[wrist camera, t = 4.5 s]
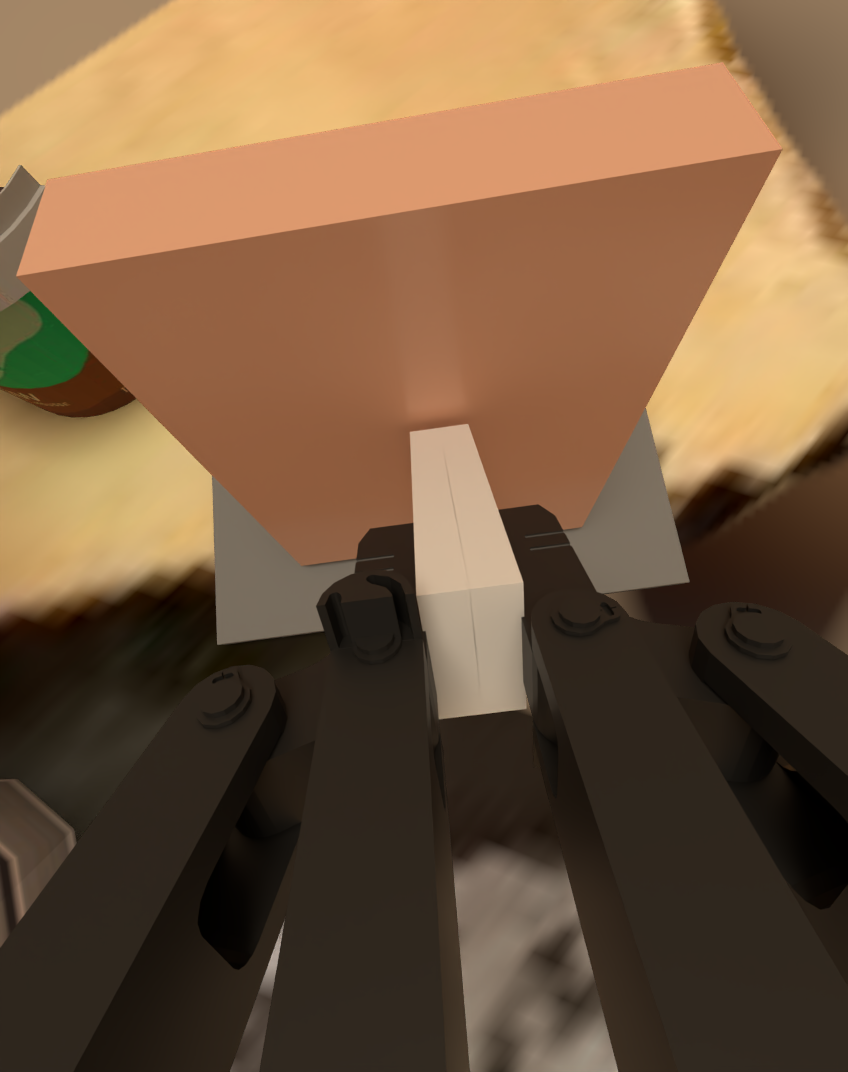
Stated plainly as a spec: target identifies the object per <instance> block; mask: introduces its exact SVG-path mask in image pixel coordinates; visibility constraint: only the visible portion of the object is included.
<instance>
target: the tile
mask: <svg viewBox="0 0 848 1072" xmlns="http://www.w3.org/2000/svg"><path fill="white" fill-rule="evenodd" d="M781 151H782V147H781V146H780V144H779V143H778V142H777V140H776V139H775V137H774V136H773V134H772V133H771V131H770V130H769V129H768V127H767V126H766V124H765V123H764V121H763V120H762V119H761V117H760V116H759V114H758V113H757V111H756V110H755V108H754V107H753V106H752V104H751V103H750V101H749V100H748V98H747V97H746V95H745V94H744V93H743V91H742V90H741V88H740V87H739V85H738V84H737V83H736V81H735V80H734V78H733V77H732V75H731V74H730V72H729V71H728V70H727V68H726V67H725V65H724V64H723V62H722V63H717V64H711V65H705V66H699V67H694V68H688V69H682V70H676V71H671V72H665V73H659V74H653V75H648V76H642V77H636V78H630V79H625V80H619V81H613V82H607V83H601V84H596V85H590V86H584V87H578V88H573V89H567V90H561V91H555V92H550V93H544V94H538V95H532V96H527V97H521V98H515V99H509V100H504V101H498V102H492V103H486V104H480V105H475V106H469V107H463V108H457V109H452V110H446V111H440V112H434V113H429V114H423V115H417V116H411V117H406V118H400V119H394V120H388V121H383V122H377V123H371V124H365V125H360V126H354V127H348V128H342V129H336V130H331V131H325V132H319V133H313V134H308V135H302V136H296V137H290V138H285V139H279V140H273V141H267V142H262V143H256V144H250V145H244V146H239V147H233V148H227V149H221V150H215V151H210V152H204V153H198V154H192V155H187V156H181V157H175V158H169V159H164V160H158V161H152V162H146V163H141V164H135V165H129V166H123V167H118V168H112V169H106V170H100V171H95V172H89V173H83V174H77V175H71V176H66V177H60V178H54V179H48V180H47V183H46V186H45V189H44V192H43V195H42V198H41V201H40V204H39V207H38V210H37V213H36V216H35V220H34V223H33V226H32V229H31V232H30V235H29V238H28V241H27V244H26V247H25V250H24V253H23V256H22V259H21V263H20V266H19V269H18V272H17V275H16V277H17V278H18V279H19V280H20V281H21V282H22V283H23V284H24V285H25V286H26V287H27V288H28V289H29V290H30V291H31V292H32V293H33V294H34V295H35V296H36V297H37V298H38V299H39V300H40V301H41V302H42V303H43V304H44V305H45V306H46V307H47V308H48V309H49V310H50V311H51V312H52V313H53V314H54V315H55V316H56V317H57V318H58V319H59V320H60V321H61V322H62V323H63V324H64V325H65V326H66V327H67V328H68V329H69V330H70V331H71V333H72V334H73V335H74V336H75V337H76V338H77V339H78V340H79V341H80V342H81V343H82V344H83V345H84V346H85V347H86V348H87V349H88V350H89V351H90V352H91V353H92V354H93V355H94V356H95V357H96V358H97V359H98V360H99V361H100V362H101V363H102V364H103V365H104V366H105V367H106V368H107V369H108V370H109V371H110V372H111V373H112V374H113V375H114V376H115V377H116V378H117V379H118V380H119V381H120V382H121V383H122V384H123V385H124V386H125V387H126V388H127V389H128V390H129V391H130V392H131V393H132V394H133V395H134V396H135V397H136V399H137V400H138V401H139V402H140V403H141V404H142V405H143V406H144V407H145V408H146V409H147V410H148V411H149V412H150V413H151V414H152V415H153V416H154V417H155V418H156V419H157V420H158V421H159V422H160V423H161V424H162V425H163V426H164V427H165V428H166V429H167V430H168V431H169V432H170V433H171V434H172V435H173V436H174V437H175V438H176V439H177V440H178V441H179V442H180V443H181V444H182V445H183V446H184V447H185V448H186V449H187V450H188V451H189V452H190V453H191V454H192V455H193V456H194V457H195V458H196V459H197V460H198V461H199V462H200V463H201V464H202V466H203V467H204V468H205V469H206V470H207V471H208V472H209V473H210V474H211V475H212V476H213V477H214V478H215V479H216V480H217V481H218V482H219V483H220V484H221V485H222V486H223V487H224V488H225V489H226V490H227V491H228V492H229V493H230V494H231V495H232V496H233V497H234V498H235V499H236V500H237V501H238V502H239V503H240V504H241V505H242V506H243V507H244V508H245V509H246V510H247V511H248V512H249V513H250V514H251V515H252V516H253V517H254V518H255V519H256V520H257V521H258V522H259V523H260V524H261V525H262V526H263V527H264V528H265V529H266V530H267V531H268V533H269V534H270V535H271V536H272V537H273V538H274V539H275V540H276V541H277V542H278V543H279V544H280V545H281V546H282V547H283V548H284V549H285V550H286V551H287V552H288V553H289V554H290V555H291V556H292V557H293V558H294V559H295V560H296V561H297V562H298V563H299V564H300V565H301V566H305V565H312V564H320V563H327V562H334V561H341V560H348V559H356V557H357V550H358V543H359V542H360V541H361V539H362V538H363V537H364V536H365V534H366V533H367V532H368V531H369V529H370V528H378V527H385V526H393V525H400V524H407V523H413V499H412V473H411V448H410V432H413V431H420V430H427V429H434V428H441V427H448V426H456V425H463V424H468V425H469V428H470V431H471V434H472V436H473V439H474V442H475V445H476V448H477V451H478V454H479V457H480V459H481V462H482V465H483V468H484V471H485V474H486V477H487V479H488V482H489V485H490V488H491V491H492V494H493V497H494V500H495V502H496V505H497V508H498V510H499V509H507V508H514V507H522V506H529V505H536V504H539V505H540V506H542V507H543V508H545V509H546V510H548V511H549V512H551V513H552V514H554V515H555V516H556V518H557V520H558V521H559V523H560V525H561V527H562V529H563V530H565V529H572V528H579V527H582V526H583V525H584V523H585V521H586V519H587V517H588V515H589V513H590V511H591V509H592V508H593V506H594V504H595V502H596V500H597V498H598V496H599V494H600V492H601V491H602V489H603V487H604V485H605V483H606V481H607V479H608V477H609V475H610V474H611V472H612V470H613V468H614V466H615V464H616V462H617V460H618V459H619V457H620V455H621V453H622V451H623V449H624V447H625V445H626V443H627V442H628V440H629V438H630V436H631V434H632V432H633V430H634V428H635V426H636V425H637V423H638V421H639V419H640V417H641V415H642V413H643V411H644V409H645V408H646V406H647V404H648V402H649V400H650V398H651V396H652V394H653V393H654V391H655V389H656V387H657V385H658V383H659V381H660V379H661V377H662V376H663V374H664V372H665V370H666V368H667V366H668V364H669V362H670V360H671V359H672V357H673V355H674V353H675V351H676V349H677V347H678V345H679V343H680V342H681V340H682V338H683V336H684V334H685V332H686V330H687V328H688V326H689V325H690V323H691V321H692V319H693V317H694V315H695V313H696V311H697V310H698V308H699V306H700V304H701V302H702V300H703V298H704V296H705V294H706V293H707V291H708V289H709V287H710V285H711V283H712V281H713V279H714V277H715V276H716V274H717V272H718V270H719V268H720V266H721V264H722V262H723V260H724V259H725V257H726V255H727V253H728V251H729V249H730V247H731V245H732V244H733V242H734V240H735V238H736V236H737V234H738V232H739V230H740V228H741V227H742V225H743V223H744V221H745V219H746V217H747V215H748V213H749V211H750V210H751V208H752V206H753V204H754V202H755V200H756V198H757V196H758V194H759V193H760V191H761V189H762V187H763V185H764V183H765V181H766V179H767V178H768V176H769V174H770V172H771V170H772V168H773V166H774V164H775V162H776V161H777V159H778V157H779V155H780V153H781Z"/></svg>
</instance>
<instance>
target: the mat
mask: <svg viewBox="0 0 848 1072" xmlns="http://www.w3.org/2000/svg"><path fill="white" fill-rule="evenodd" d="M212 486H213V518H214V551H215V584H216V616H217V645H223V644H233V643H241V642H248V641H256V640H263V639H271V638H278V637H286V636H293V635H301V634H309V633H316V632H324V629H323V626H322V623H321V620H320V617H319V614H318V611H317V608H316V605H317V603H318V601H319V599H320V597H321V595H322V593H323V592H325V591H326V590H327V589H328V588H329V587H330V586H331V585H332V584H333V583H335V582H336V581H338V580H340V579H342V578H344V577H346V576H348V575H350V574H354V571H355V564H356V562H357V561H356V559H348V560H341V561H334V562H327V563H320V564H312V565H305V566H301V565H300V564H299V563H298V562H297V561H296V560H295V559H294V558H293V557H292V556H291V555H290V554H289V553H288V552H287V551H286V550H285V549H284V548H283V547H282V546H281V545H280V544H279V543H278V542H277V541H276V540H275V539H274V538H273V537H272V536H271V535H270V534H269V533H268V531H267V530H266V529H265V528H264V527H263V526H262V525H261V524H260V523H259V522H258V521H257V520H256V519H255V518H254V517H253V516H252V515H251V514H250V513H249V512H248V511H247V510H246V509H245V508H244V507H243V506H242V505H241V504H240V503H239V502H238V501H237V500H236V499H235V498H234V497H233V496H232V495H231V494H230V493H229V492H228V491H227V490H226V489H225V488H224V487H223V486H222V485H221V484H220V483H219V482H218V481H217V480H216V479H215V478H214V477H213V476H212ZM563 533H565V534H566V536H567V538H568V540H569V542H570V546H572V547H573V549H574V551H575V553H576V554H577V556H578V558H579V560H580V562H581V564H582V565H583V567H584V569H585V571H586V573H587V575H588V576H589V578H590V580H591V582H592V584H593V586H594V587H595V589H596V591H597V592H599V593H602V594H609V593H617V592H624V591H631V590H640V589H647V588H655V587H662V586H670V585H677V584H683V583H686V582H689V578H688V575H687V570H686V567H685V562H684V558H683V554H682V550H681V546H680V542H679V538H678V534H677V531H676V527H675V523H674V519H673V515H672V511H671V507H670V503H669V499H668V495H667V491H666V487H665V483H664V479H663V475H662V471H661V467H660V463H659V459H658V455H657V451H656V447H655V443H654V439H653V435H652V431H651V427H650V423H649V419H648V415H647V411H646V408H645V409H644V411H643V413H642V415H641V417H640V419H639V421H638V423H637V425H636V426H635V428H634V430H633V432H632V434H631V436H630V438H629V440H628V442H627V443H626V445H625V447H624V449H623V451H622V453H621V455H620V457H619V459H618V460H617V462H616V464H615V466H614V468H613V470H612V472H611V474H610V475H609V477H608V479H607V481H606V483H605V485H604V487H603V489H602V491H601V492H600V494H599V496H598V498H597V500H596V502H595V504H594V506H593V508H592V509H591V511H590V513H589V515H588V517H587V519H586V521H585V523H584V525H583V526H582V527H579V528H572V529H565V530H563Z"/></svg>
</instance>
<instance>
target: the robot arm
mask: <svg viewBox="0 0 848 1072" xmlns="http://www.w3.org/2000/svg"><path fill="white" fill-rule="evenodd" d="M410 448H411V473H412V499H413V523H407V524H400V525H393V526H385V527H378V528H370V529H369V531H368V532H367V533H366V534H365V536H364V537H363V538H362V539H361V541H360V542H359V543H358V550H357V557H356V561H357V562H356V564H355V571H354V574H350V575H348V576H346V577H344V578H342V579H340V580H338V581H336V582H335V583H333V584H332V585H331V586H330V587H329V588H328V589H327V590H326V591H325V592H323V593H322V595H321V597H320V599H319V601H318V603H317V605H316V608H317V611H318V614H319V617H320V620H321V623H322V626H323V629H324V632H325V635H326V638H327V641H328V644H329V647H330V654H329V655H327V656H326V657H324V658H323V659H322V660H320V661H319V662H317V663H315V664H313V665H311V666H309V667H307V668H305V669H302V670H300V671H297V672H295V673H292V674H289V675H287V676H284V677H282V678H279V679H276V680H274V678H273V677H272V676H271V675H270V674H269V673H268V672H267V671H266V670H265V669H264V668H260V667H256V666H253V665H242V666H232V667H230V668H227V669H224V670H221V671H219V672H216V673H214V674H212V675H211V676H209V677H207V678H206V679H204V680H203V681H201V682H200V683H198V684H197V685H196V686H195V687H194V688H193V689H192V690H191V691H190V692H189V693H188V694H187V695H186V696H185V697H184V698H183V699H182V700H181V702H180V703H179V704H178V706H177V707H176V709H175V710H174V711H173V713H172V714H171V715H170V717H169V718H168V719H167V721H166V722H165V724H164V725H163V726H162V728H161V729H160V730H159V732H158V733H157V734H156V736H155V737H154V739H153V740H152V741H151V743H150V744H149V745H148V747H147V748H146V749H145V751H144V752H143V754H142V755H141V756H140V758H139V759H138V760H137V762H136V763H135V764H134V766H133V767H132V769H131V770H130V771H129V773H128V774H127V775H126V777H125V778H124V780H123V781H122V782H121V784H120V785H119V786H118V788H117V789H116V790H115V792H114V793H113V795H112V796H111V797H110V799H109V800H108V801H107V803H106V804H105V805H104V807H103V808H102V810H101V811H100V812H99V814H98V815H97V816H96V818H95V819H94V820H93V822H92V823H91V825H90V826H89V827H88V829H87V830H86V831H85V833H84V834H83V835H82V837H81V838H80V840H79V841H78V842H77V844H76V845H75V846H74V848H73V849H72V850H71V852H70V853H69V855H68V856H67V857H66V859H65V860H64V861H63V863H62V864H61V865H60V867H59V868H58V870H57V871H56V872H55V874H54V875H53V876H52V878H51V879H50V880H49V882H48V883H47V885H46V886H45V887H44V889H43V890H42V891H41V893H40V894H39V895H38V897H37V898H36V900H35V901H34V902H33V904H32V905H31V906H30V908H29V909H28V910H27V912H26V913H25V915H24V916H23V917H22V919H21V920H20V921H19V923H18V924H17V925H16V927H15V928H14V930H13V931H12V932H11V934H10V935H9V936H8V938H7V939H6V940H5V942H4V943H3V945H2V946H1V947H0V1072H230V1069H231V1066H232V1064H233V1061H234V1058H235V1055H236V1052H237V1050H238V1047H239V1044H240V1041H241V1039H242V1036H243V1033H244V1030H245V1027H246V1025H247V1022H248V1019H249V1016H250V1014H251V1011H252V1008H253V1005H254V1002H255V1000H256V997H257V994H258V991H259V989H260V986H261V983H262V980H263V977H264V975H265V972H266V969H267V966H268V964H269V961H270V958H271V955H272V952H273V950H274V947H275V944H276V941H277V939H278V936H279V933H280V930H281V927H282V925H283V922H284V919H285V923H284V929H283V935H282V941H281V947H280V953H279V959H278V965H277V970H276V976H275V982H274V988H273V994H272V1000H271V1006H270V1012H269V1018H268V1024H267V1030H266V1036H265V1042H264V1048H263V1053H262V1059H261V1065H260V1071H259V1072H470V1068H469V1056H468V1044H467V1031H466V1019H465V1007H464V995H463V983H462V971H461V959H460V947H459V935H458V923H457V911H456V899H455V887H454V875H453V862H452V850H451V838H450V826H449V814H448V802H447V790H446V778H445V766H444V754H443V746H442V741H441V736H440V729H439V719H445V718H453V717H462V716H470V715H479V714H487V713H496V712H504V711H513V710H521V709H527V705H526V694H527V698H528V702H529V705H530V709H531V713H532V716H533V762H534V767H540V768H541V771H542V775H543V779H544V783H545V787H546V791H547V795H548V799H549V803H550V806H551V810H552V814H553V818H554V822H555V826H556V830H557V834H558V838H559V842H560V845H561V849H562V853H563V857H564V861H565V865H566V869H567V873H568V877H569V881H570V884H571V888H572V892H573V896H574V900H575V904H576V908H577V912H578V916H579V919H580V923H581V927H582V931H583V935H584V939H585V943H586V947H587V951H588V955H589V958H590V962H591V966H592V970H593V974H594V978H595V982H596V986H597V990H598V993H599V997H600V1001H601V1005H602V1009H603V1013H604V1017H605V1021H606V1025H607V1029H608V1032H609V1036H610V1040H611V1044H612V1048H613V1052H614V1056H615V1060H616V1064H617V1068H618V1071H619V1072H848V655H847V654H845V653H844V652H842V651H841V650H839V649H838V648H836V647H835V646H833V645H832V644H831V643H829V642H828V641H826V640H825V639H823V638H822V637H820V636H819V635H818V634H816V633H815V632H813V631H812V630H810V629H809V628H807V627H806V626H805V625H803V624H802V623H800V622H799V621H797V620H795V619H793V618H791V617H789V616H787V615H785V614H784V613H782V612H780V611H778V610H774V609H771V608H767V607H764V606H761V605H757V604H751V603H740V602H729V603H723V604H716V605H713V606H712V607H710V608H708V609H706V610H704V611H703V612H701V614H700V616H699V618H698V620H697V622H696V624H695V627H684V626H676V625H667V624H657V623H651V622H645V621H640V620H637V619H634V618H631V617H629V615H628V614H627V612H626V611H625V610H624V609H623V608H622V607H621V606H620V605H619V604H618V602H617V601H615V600H613V599H611V598H609V597H607V596H606V595H604V594H602V593H599V592H597V591H596V589H595V587H594V586H593V584H592V582H591V580H590V578H589V576H588V575H587V573H586V571H585V569H584V567H583V565H582V564H581V562H580V560H579V558H578V556H577V554H576V553H575V551H574V549H573V547H572V546H570V542H569V540H568V538H567V536H566V534H565V533H563V529H562V527H561V525H560V523H559V521H558V520H557V518H556V516H555V515H554V514H552V513H551V512H549V511H548V510H546V509H545V508H543V507H542V506H540V505H539V504H536V505H529V506H522V507H514V508H507V509H499V510H498V508H497V505H496V502H495V500H494V497H493V494H492V491H491V488H490V485H489V482H488V479H487V477H486V474H485V471H484V468H483V465H482V462H481V459H480V457H479V454H478V451H477V448H476V445H475V442H474V439H473V436H472V434H471V431H470V428H469V425H468V424H463V425H456V426H448V427H441V428H434V429H427V430H420V431H413V432H410ZM285 916H286V917H285Z"/></svg>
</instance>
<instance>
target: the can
mask: <svg viewBox="0 0 848 1072" xmlns="http://www.w3.org/2000/svg"><path fill="white" fill-rule="evenodd" d="M76 844H77V842H76V837H75V831H74V828H72V827H71V826H70V825H69V824H68V823H67V822H66V821H64V820H63V819H62V818H61V817H60V816H59V815H58V814H57V813H55V812H54V811H53V810H52V809H51V808H50V807H49V806H48V805H46V804H45V803H44V802H43V801H42V800H41V799H40V798H38V797H37V796H36V795H35V794H34V793H33V792H32V791H31V790H29V789H28V788H27V787H26V786H25V785H24V784H23V783H22V782H20V781H19V780H18V779H0V947H1V946H2V945H3V943H4V942H5V940H6V939H7V938H8V936H9V935H10V934H11V932H12V931H13V930H14V928H15V927H16V925H17V924H18V923H19V921H20V920H21V919H22V917H23V916H24V915H25V913H26V912H27V910H28V909H29V908H30V906H31V905H32V904H33V902H34V901H35V900H36V898H37V897H38V895H39V894H40V893H41V891H42V890H43V889H44V887H45V886H46V885H47V883H48V882H49V880H50V879H51V878H52V876H53V875H54V874H55V872H56V871H57V870H58V868H59V867H60V865H61V864H62V863H63V861H64V860H65V859H66V857H67V856H68V855H69V853H70V852H71V850H72V849H73V848H74V846H75V845H76Z"/></svg>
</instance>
